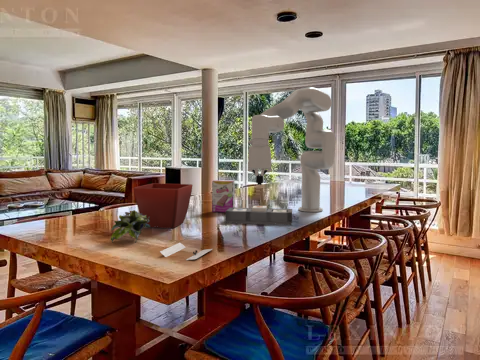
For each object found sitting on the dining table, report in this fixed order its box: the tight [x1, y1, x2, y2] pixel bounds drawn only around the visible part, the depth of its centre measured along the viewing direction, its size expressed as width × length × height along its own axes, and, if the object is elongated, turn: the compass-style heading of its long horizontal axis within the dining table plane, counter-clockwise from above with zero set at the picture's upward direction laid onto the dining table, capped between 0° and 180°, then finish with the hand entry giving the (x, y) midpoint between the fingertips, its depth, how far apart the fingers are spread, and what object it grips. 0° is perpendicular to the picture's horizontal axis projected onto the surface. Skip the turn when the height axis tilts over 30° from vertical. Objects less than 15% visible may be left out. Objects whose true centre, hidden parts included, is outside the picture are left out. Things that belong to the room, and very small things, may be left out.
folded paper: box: [159, 242, 213, 261], centre depth 111 cm, size 12×12×2 cm
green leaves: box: [109, 209, 151, 244], centre depth 127 cm, size 13×12×14 cm
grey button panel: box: [224, 207, 293, 226], centre depth 163 cm, size 14×29×5 cm, turn 81°
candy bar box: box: [211, 179, 236, 213], centre depth 187 cm, size 11×5×16 cm, turn 84°
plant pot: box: [133, 182, 193, 229], centre depth 153 cm, size 19×19×17 cm
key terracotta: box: [251, 205, 268, 212], centre depth 163 cm, size 6×6×3 cm
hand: (259, 184), depth 162 cm, fingers closed
